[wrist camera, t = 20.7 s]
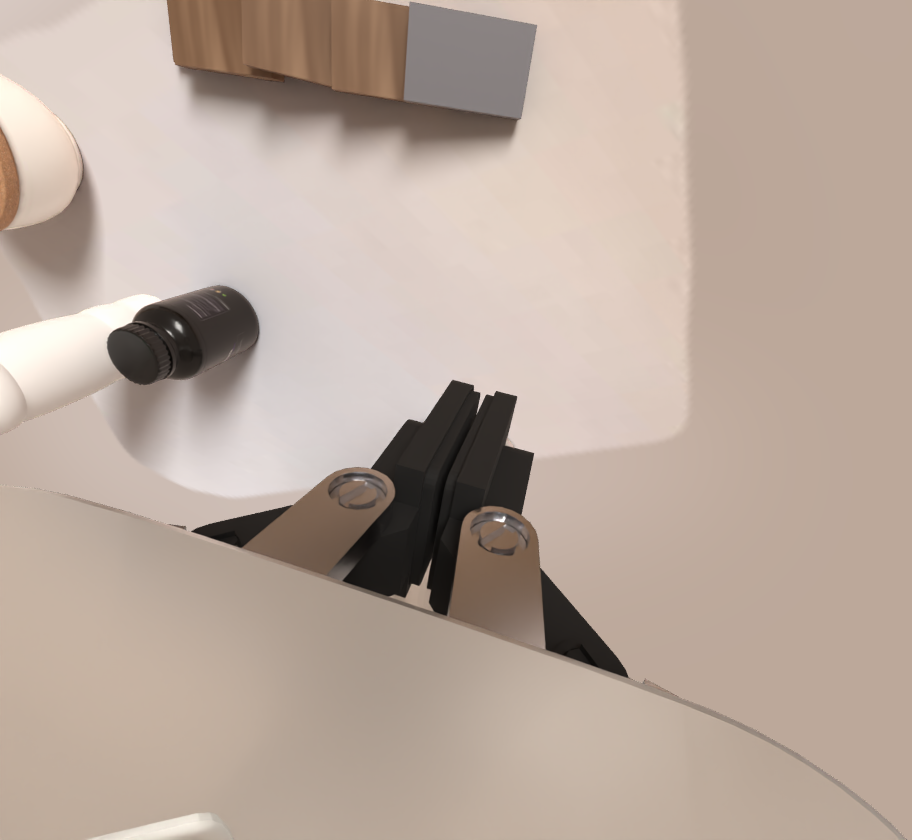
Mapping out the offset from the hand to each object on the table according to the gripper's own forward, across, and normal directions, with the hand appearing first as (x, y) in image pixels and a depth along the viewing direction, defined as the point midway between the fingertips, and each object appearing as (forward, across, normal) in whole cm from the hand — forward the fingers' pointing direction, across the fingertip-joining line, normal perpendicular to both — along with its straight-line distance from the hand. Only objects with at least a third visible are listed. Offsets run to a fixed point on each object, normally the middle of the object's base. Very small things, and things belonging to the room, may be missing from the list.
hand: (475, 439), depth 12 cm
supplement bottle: (+29, +30, +12) cm, 44 cm away
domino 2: (+28, +16, -11) cm, 34 cm away
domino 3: (+28, +10, -11) cm, 32 cm away
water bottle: (+29, +39, +15) cm, 51 cm away
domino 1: (+28, +23, -11) cm, 37 cm away
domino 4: (+28, +5, -11) cm, 31 cm away
